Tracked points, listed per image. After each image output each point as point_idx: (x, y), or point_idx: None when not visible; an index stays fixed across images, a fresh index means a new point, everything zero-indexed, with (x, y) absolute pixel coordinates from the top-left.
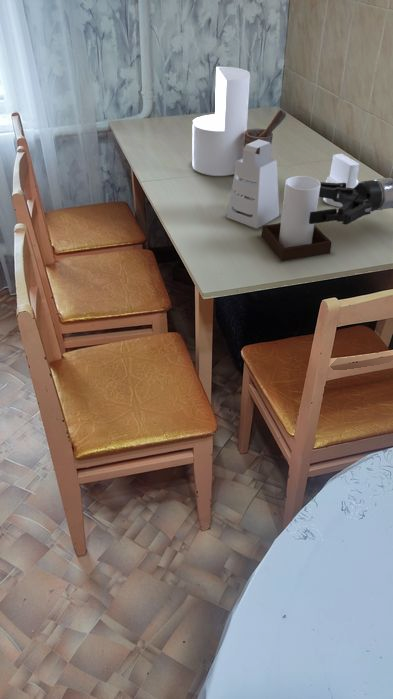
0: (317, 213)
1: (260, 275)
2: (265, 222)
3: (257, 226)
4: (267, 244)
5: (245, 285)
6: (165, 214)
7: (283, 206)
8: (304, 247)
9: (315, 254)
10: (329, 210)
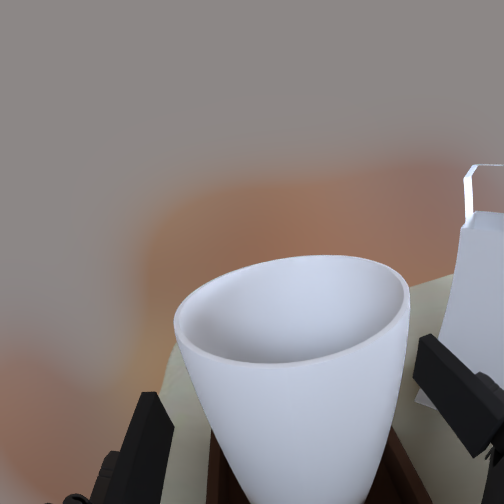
0: (136, 416)
1: (185, 394)
2: None
3: (418, 398)
4: None
5: (169, 370)
6: (424, 285)
7: (302, 353)
8: (209, 479)
9: None
10: (118, 466)
